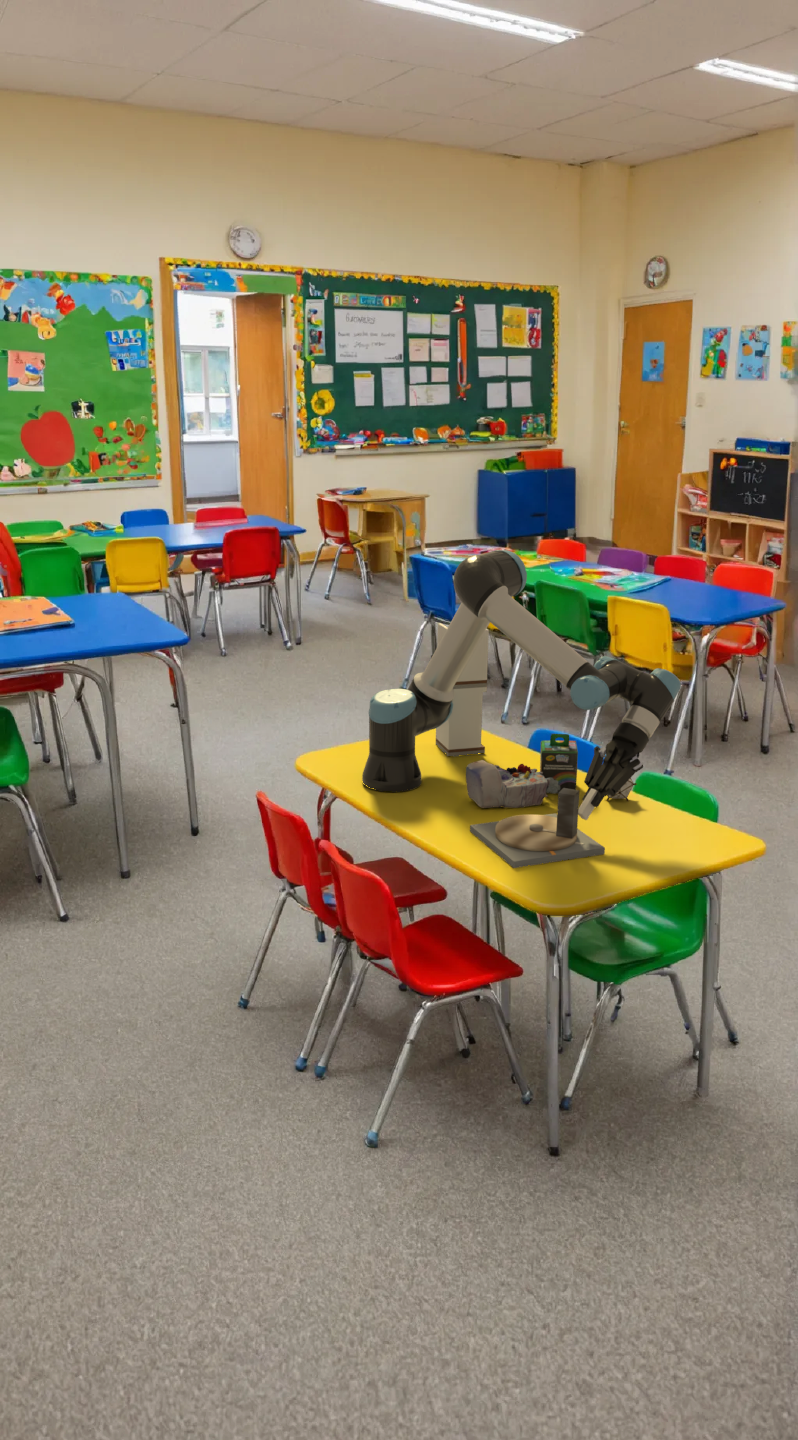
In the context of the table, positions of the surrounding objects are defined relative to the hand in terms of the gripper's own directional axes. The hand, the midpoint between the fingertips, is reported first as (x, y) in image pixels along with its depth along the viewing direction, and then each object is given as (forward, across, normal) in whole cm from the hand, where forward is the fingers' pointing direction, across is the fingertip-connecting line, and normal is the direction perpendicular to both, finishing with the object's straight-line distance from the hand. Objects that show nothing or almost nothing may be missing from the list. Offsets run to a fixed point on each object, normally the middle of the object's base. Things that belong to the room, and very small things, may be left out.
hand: (581, 816), depth 247 cm
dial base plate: (+10, +6, +1) cm, 12 cm away
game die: (-15, +14, -25) cm, 32 cm away
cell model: (+1, +29, -9) cm, 30 cm away
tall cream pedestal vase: (-13, +67, -23) cm, 72 cm away
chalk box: (-11, +28, -21) cm, 37 cm away
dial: (+9, +7, +2) cm, 11 cm away
